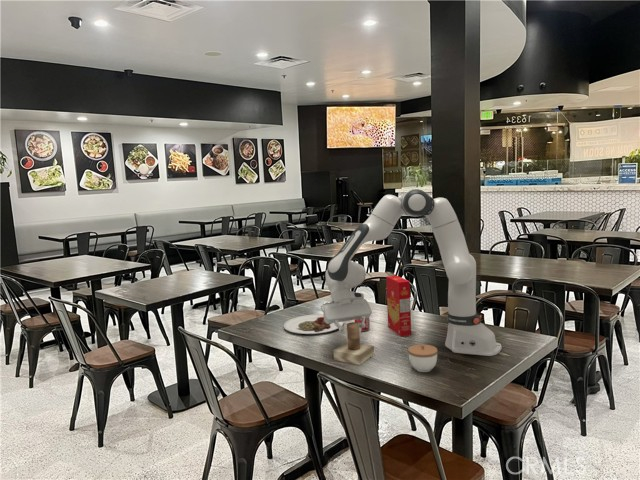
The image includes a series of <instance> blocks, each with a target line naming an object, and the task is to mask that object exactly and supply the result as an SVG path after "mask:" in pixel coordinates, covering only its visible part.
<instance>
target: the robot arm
mask: <svg viewBox="0 0 640 480" xmlns="http://www.w3.org/2000/svg"><path fill="white" fill-rule="evenodd" d="M403 215H405V216H409V217H414V218H415V217H420V216H424V217H425V218H426V219H427V220H428V221H429V224H430V227H431V230H432V232H433V235H434V238H435V241H436V243H437V246H438V249H439V253H440V256H441V261H442V264H443V267H444V270H445V272H446V277H447V279H448V291H447V304H448V305H447V308H448V309H447V314H446V315H447V317H446V322H447V333H446V338H445V342H444V346H445V347H446V348H447V349H449V350H450V351H452V353H456V354H465V355H466V354H467V355H477V356H486V357H493V356H496V355H498V354H499V353H500V352H501V351H502V349H503V347H502V344H501V343H499V342H497V340H496V335H495V333H494V332H493V331H492V330H491V329H490V328H488V327H487V326H486V325H485V324H484V323H482V321H481V320H482V314H480V315H479V314H478V313H477V303H476V302H477V301H476V299H477V297H476V296H477V295H476V292H477V290H476V289H477V262H476V259H475V258H474V256H473V255H472V254H470V251H469V249H468V248H469V247H468V245H467V242H466V237H465V234H464V232H463V229H462V226H461V224H460V222H459V219H458V216H457V214H456V212H455V210H454V208H453V207H452V205H451V203H450V202H449V200H448V199H447V198H446V197H445V198H444V197H436V198H433V197H432V196H431V195H429V194H428V193H427V192H426V191H424V190H422V189H415V188H413V189H411V190H408V191H407V192H405V194H404V195H402V196H401V197H398V196H396V195H393V194H386V195H384V196H383V197H382V198H381V199H380V200H379V201H378V203H377V204H376V205H375V206H374V209H373V210H372V212H371V213H370V215H369V216H368V218H367V219H366V220H365V221H364V222H363V223H362V224H360V225H358V226H357V228H355V229H354V231H352V233H351V234H350V236H349V237H348V239H347V240H346V241H345V242H344V244H343V245H342V247H341V248H340V249H339V250H338V251H337V253H336V254H335V255H334V256H333V257H331V259H330V260H329V262H328V264H327V266H326V267H327V269H326V270H325V282H326V286H327V289H328V291H329V292H330V298H331V301H327V302H323V303H322V304H321V305H320V309H321V312H322V313H323V314H322V315H324V320H325V322H326V323H327V324H330V323H334V324H335V326H336V327H338V330H339V332H343V331H345V328H344V325H342V326H341V325H340V324H339V323H338V322H343V321H344V322H349V321H355V320H356V319H361V321H362V323H361V324H360V326H361V328H365V323H364V322H365V318H369V319H370V317H371V316H372V313H373V312H372V311H373V310H372V308H371V306H370V304H369V302H368V300H367V299H366V298H365V295H364V293H362V292H356V291H352V289H353V288H356V287H358V286H359V285H361V284H362V283H363V282H364V281H365V279H366V275H367V272H366V269H365V267H364V266H363V265H362V264H360V263H357V262H356V261H353V260H352V259H353V258H354V256H355V255H356V253H357V252H358V250H359V249H360V247H362V246H363V245H364V244H365V243H368V242H374V241H382V240H384V239H387V237H388V236H389V235H391V233H392V232H393V230H394V227H395V226H396V224H397V222H398V221H399V219H400V218H401V217H403Z"/></svg>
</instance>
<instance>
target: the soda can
mask: <svg viewBox="0 0 640 480" xmlns="http://www.w3.org/2000/svg"><path fill="white" fill-rule="evenodd" d="M354 322H356V323H359V328H361V326H360V324H361V323H362V321H361V319H356V320H354ZM364 323H365V328H361V332H366V331H369V329H370V325H371V324H370V323H371V322H370V317H369V318H365V322H364Z"/></svg>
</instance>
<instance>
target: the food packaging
mask: <svg viewBox="0 0 640 480" xmlns="http://www.w3.org/2000/svg"><path fill="white" fill-rule="evenodd" d="M385 278H386V279H385V281H386V283H385V284H386V308H387V311H386V312H387V327H388V329H390V330H392V332H394V333H395V334H397V335H398V336H400V337H407V336H412V318H411V317H412V315H411V313H412V312H411V285H410V284H411V282H410V280H407V279H405V278H404V277H402V276H399V275H397V274H396V275H389V276H388V275H387V276H385Z"/></svg>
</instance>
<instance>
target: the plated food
mask: <svg viewBox="0 0 640 480" xmlns="http://www.w3.org/2000/svg"><path fill="white" fill-rule="evenodd" d="M338 323H339V324H340V325H341V326H344V324H345V321H343V322H338ZM283 328H284V329H285V330H286V331H288V332H290V333H294V334H304V335H315V334H316V335H319V334H323V333H329V332H333V331H336V330H339V328H338V327H336V326H335V324H334V323H330V324H327V323H326V322H325V320H324V314H320V313H319V314H306V315H300V316H295V317H293V318H291V319H288V320H286V321H285V322H284V324H283Z"/></svg>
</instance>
